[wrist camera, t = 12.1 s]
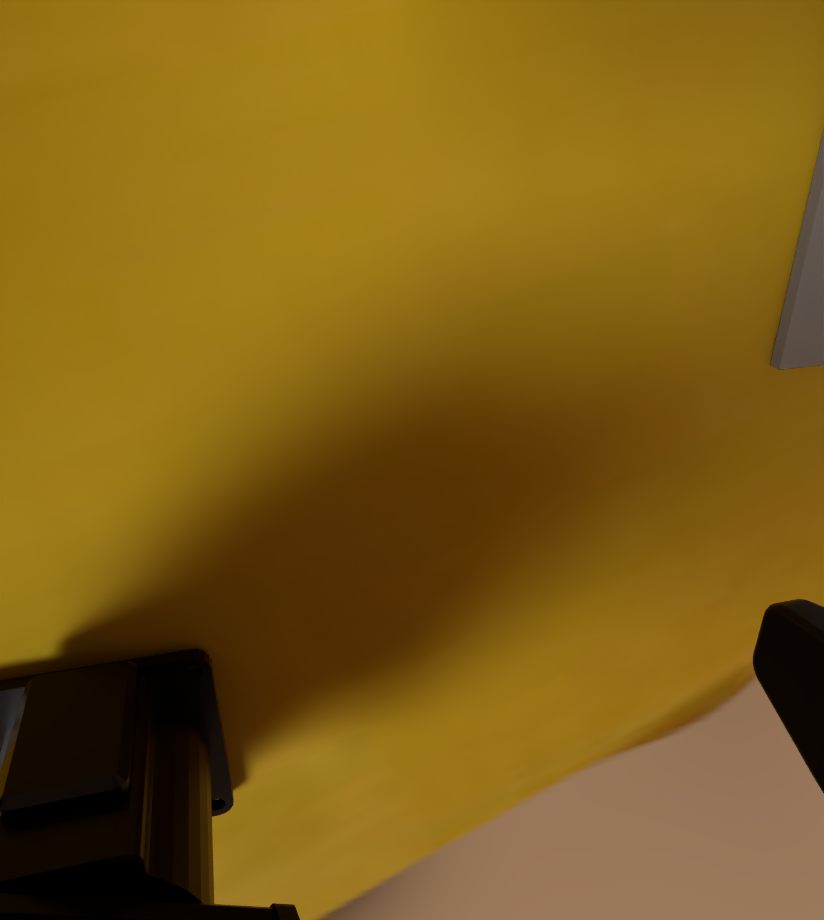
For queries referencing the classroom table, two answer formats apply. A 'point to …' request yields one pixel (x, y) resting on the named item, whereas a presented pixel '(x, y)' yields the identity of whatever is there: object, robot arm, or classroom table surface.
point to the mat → (805, 288)
